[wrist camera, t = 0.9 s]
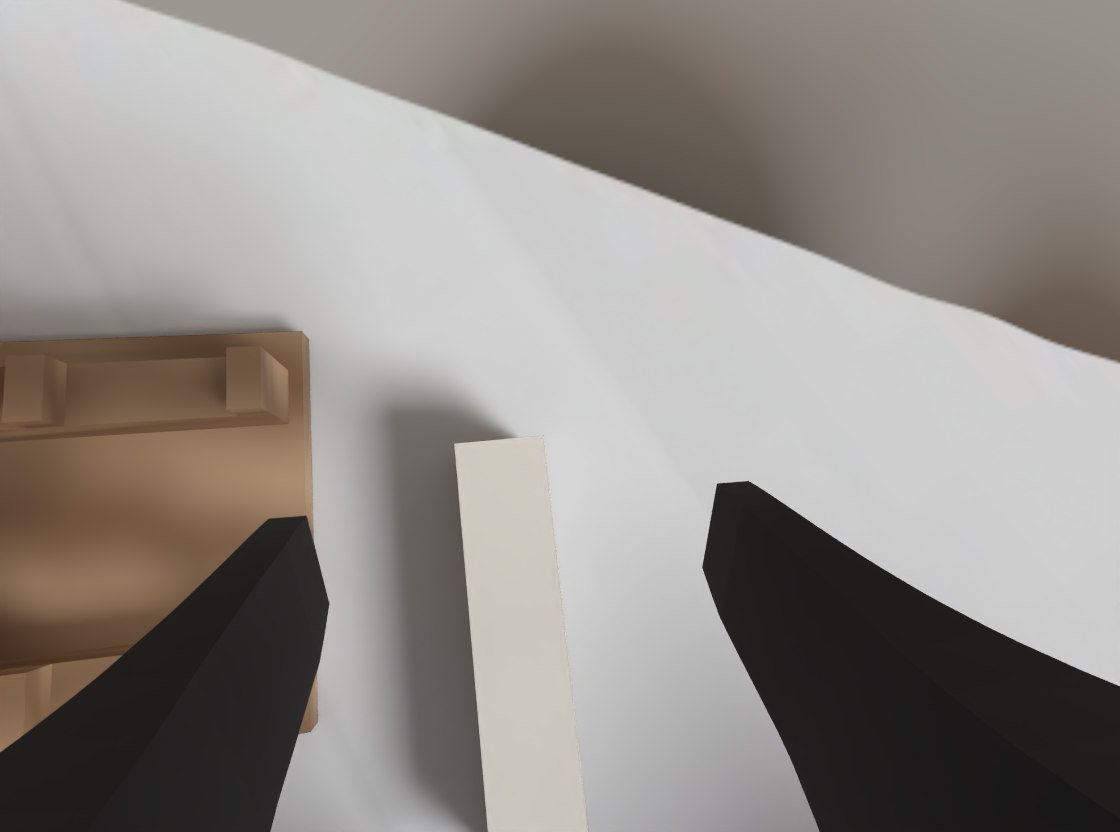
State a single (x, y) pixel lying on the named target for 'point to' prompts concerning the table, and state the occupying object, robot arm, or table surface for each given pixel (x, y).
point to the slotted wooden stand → (133, 492)
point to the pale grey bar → (519, 639)
